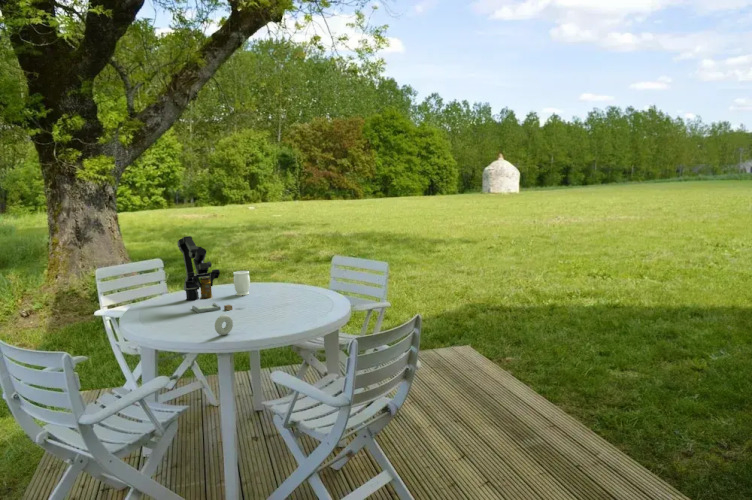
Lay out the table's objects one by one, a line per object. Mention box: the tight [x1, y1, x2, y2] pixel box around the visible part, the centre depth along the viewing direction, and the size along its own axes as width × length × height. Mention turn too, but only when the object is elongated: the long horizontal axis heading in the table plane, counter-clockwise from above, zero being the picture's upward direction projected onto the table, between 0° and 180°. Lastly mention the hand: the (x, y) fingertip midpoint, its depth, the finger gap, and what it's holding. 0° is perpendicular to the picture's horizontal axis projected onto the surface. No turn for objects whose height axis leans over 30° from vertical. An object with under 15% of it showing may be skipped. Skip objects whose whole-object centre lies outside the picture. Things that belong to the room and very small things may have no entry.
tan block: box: [223, 304, 233, 311], centre depth 322 cm, size 4×3×2 cm
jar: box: [232, 270, 251, 297], centre depth 362 cm, size 11×10×15 cm
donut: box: [214, 314, 234, 336], centre depth 269 cm, size 10×4×10 cm, turn 143°
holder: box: [191, 302, 221, 314], centre depth 324 cm, size 13×13×2 cm
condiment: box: [199, 276, 214, 301], centre depth 324 cm, size 7×8×12 cm
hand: (206, 287), depth 323 cm, fingers closed on condiment, 6 cm apart
